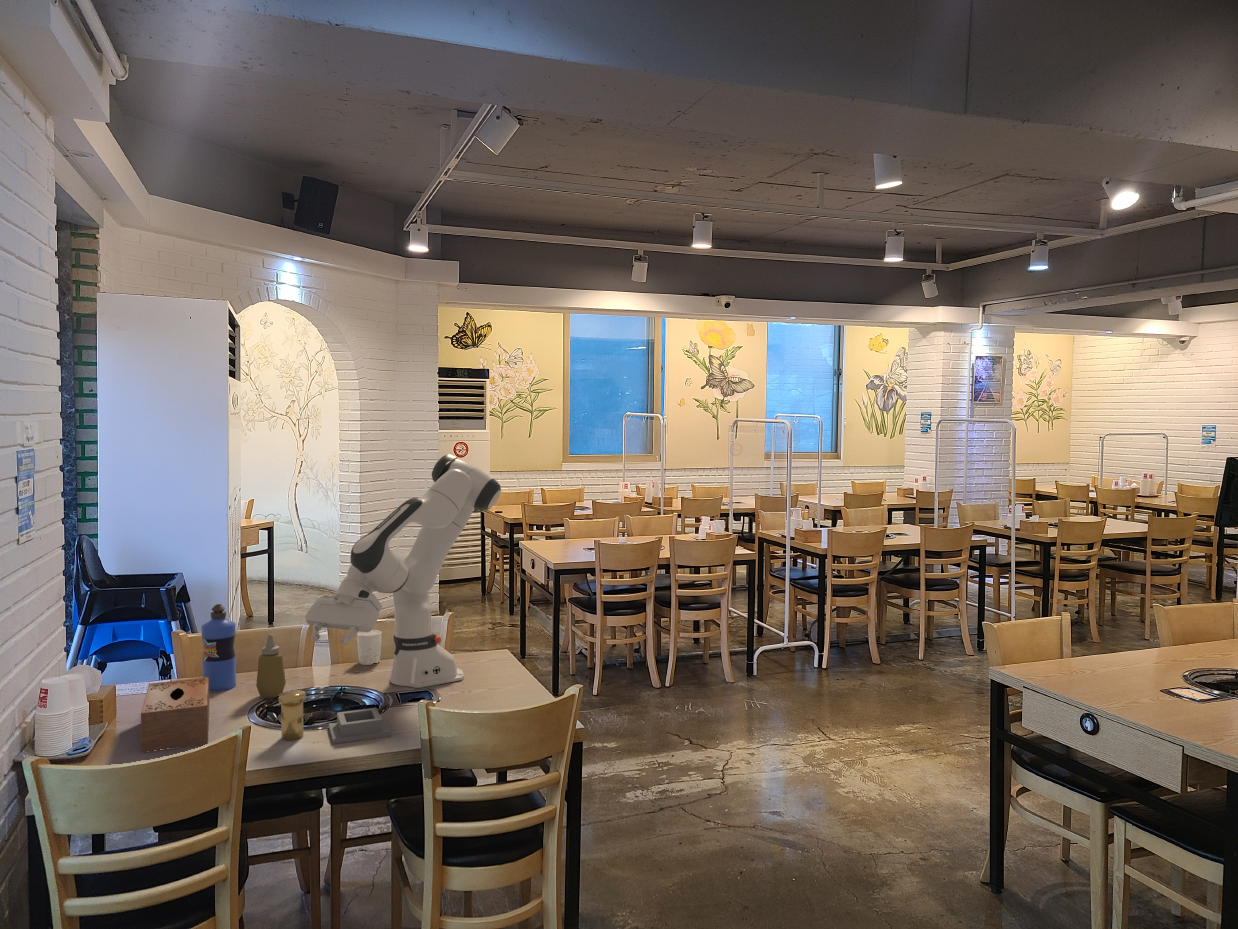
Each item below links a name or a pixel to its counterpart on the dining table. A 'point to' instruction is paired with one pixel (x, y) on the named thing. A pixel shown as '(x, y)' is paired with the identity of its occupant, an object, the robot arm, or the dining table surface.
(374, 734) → the socket block
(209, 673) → the water bottle
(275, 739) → the dining table surface
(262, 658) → the squeeze bottle
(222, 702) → the dining table surface
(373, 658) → the white cup
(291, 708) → the gold stepped cylinder
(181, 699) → the tissue box cover
